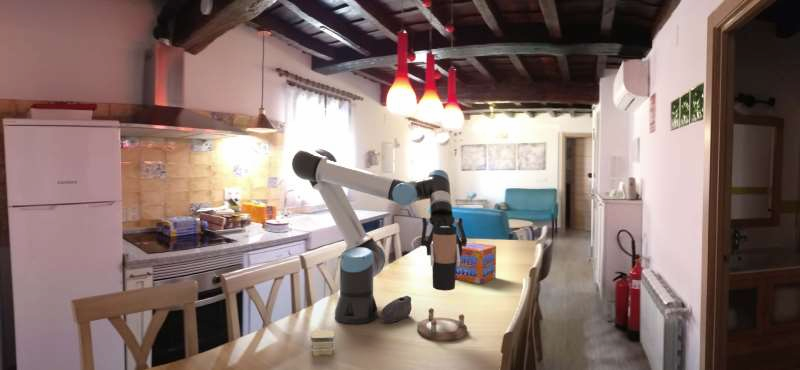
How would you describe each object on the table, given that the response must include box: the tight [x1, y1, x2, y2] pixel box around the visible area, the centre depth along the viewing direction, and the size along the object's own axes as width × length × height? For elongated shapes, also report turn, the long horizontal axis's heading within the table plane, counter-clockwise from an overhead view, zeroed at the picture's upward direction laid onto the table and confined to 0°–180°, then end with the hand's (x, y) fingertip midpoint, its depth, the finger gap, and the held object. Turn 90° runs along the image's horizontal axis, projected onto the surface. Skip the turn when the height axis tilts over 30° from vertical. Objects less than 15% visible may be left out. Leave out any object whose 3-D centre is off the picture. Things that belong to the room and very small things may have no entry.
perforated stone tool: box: [380, 295, 413, 324], centre depth 144 cm, size 15×5×7 cm, turn 136°
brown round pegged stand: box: [416, 307, 468, 343], centre depth 134 cm, size 16×16×6 cm
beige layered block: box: [310, 329, 336, 357], centre depth 119 cm, size 10×9×6 cm
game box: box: [455, 241, 497, 285], centre depth 199 cm, size 16×16×16 cm
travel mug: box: [431, 224, 458, 292], centre depth 133 cm, size 8×8×20 cm
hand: (445, 263), depth 130 cm, fingers closed on travel mug, 7 cm apart
